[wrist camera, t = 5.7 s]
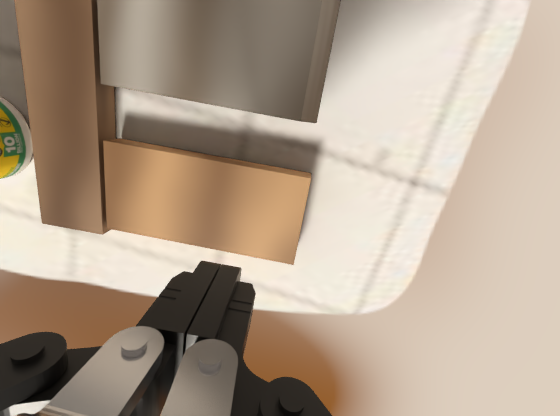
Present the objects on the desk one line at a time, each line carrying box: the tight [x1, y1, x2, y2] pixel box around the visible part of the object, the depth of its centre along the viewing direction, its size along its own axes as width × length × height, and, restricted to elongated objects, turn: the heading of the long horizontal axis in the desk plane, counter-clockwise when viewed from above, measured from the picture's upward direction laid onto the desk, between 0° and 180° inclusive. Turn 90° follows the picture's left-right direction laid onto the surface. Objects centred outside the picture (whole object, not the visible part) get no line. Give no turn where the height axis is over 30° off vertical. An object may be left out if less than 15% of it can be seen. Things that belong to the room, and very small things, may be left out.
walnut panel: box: [14, 0, 116, 234], centre depth 16 cm, size 4×15×2 cm, turn 170°
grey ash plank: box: [97, 0, 341, 123], centre depth 12 cm, size 12×6×2 cm, turn 80°
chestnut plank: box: [103, 138, 311, 265], centre depth 17 cm, size 12×6×2 cm, turn 81°
